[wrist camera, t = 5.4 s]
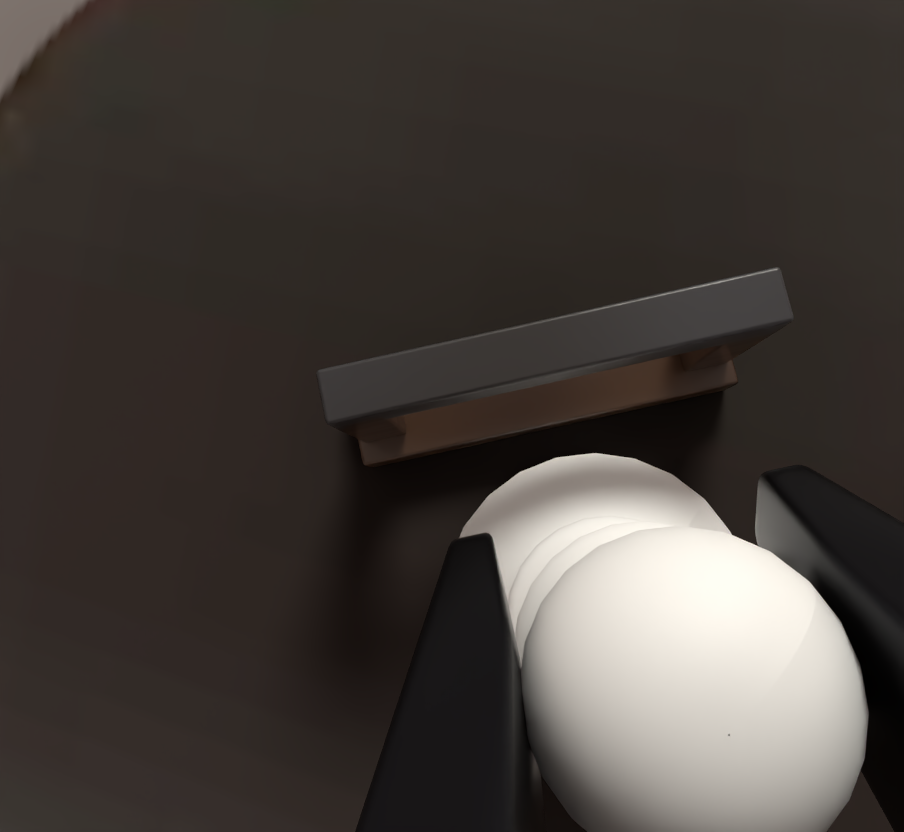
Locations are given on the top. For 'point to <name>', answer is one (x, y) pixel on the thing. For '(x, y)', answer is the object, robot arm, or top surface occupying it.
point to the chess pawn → (670, 657)
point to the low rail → (553, 369)
